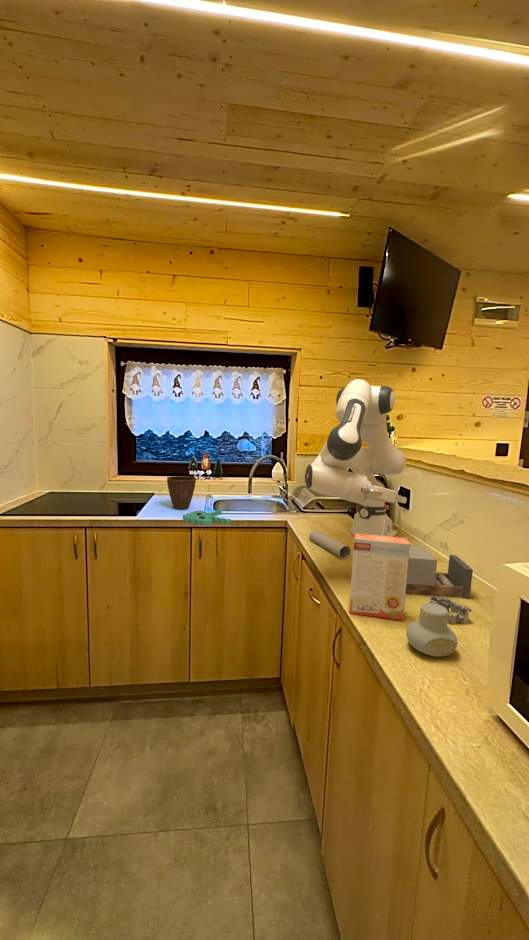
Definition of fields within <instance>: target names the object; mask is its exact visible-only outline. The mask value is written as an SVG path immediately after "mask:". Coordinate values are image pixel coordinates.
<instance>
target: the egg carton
mask: <svg viewBox="0 0 529 940" xmlns="http://www.w3.org/2000/svg"><path fill="white" fill-rule="evenodd" d="M427 597H428V599H429V602H428V603H434V604H438V605H441V606H443V607H445V608H446V609H447V610H448V621H447V624H448V623H449V624H451V625H456V622H457V623H461V624H466V625H467V623H468V621H469V613H471V612H472V609H471V608H470V607H468V606H466V605H462V604H459V603H458V602H456V601H454V600H451V598H450V597H446V598H444V597H445V596H431V595H427ZM451 612H452V613H451ZM454 614H455V615H454Z"/></svg>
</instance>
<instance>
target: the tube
mask: <svg viewBox="0 0 529 940" xmlns="http://www.w3.org/2000/svg"><path fill="white" fill-rule="evenodd" d="M308 538H309V540H310V541H311V542H313V544H317V546H318V545H319V547H321V548H323V549H324V550H326V551H328V552H329V553H330V554H333V555H335V556H336V557H338V558H340V559H341V560H346V559H349V557H351V556H352V548H351V547H350V545H348V544H347V545H346V544H344V543H343V542H341V541H339V540H337V539H335V538H333V537H331V536H330V535H327V534H326V533H324V532H321V531H320V530H318V529H312V530H311V531H310V532H309V535H308Z"/></svg>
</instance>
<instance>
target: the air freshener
mask: <svg viewBox="0 0 529 940" xmlns="http://www.w3.org/2000/svg"><path fill="white" fill-rule="evenodd" d="M419 610H420V611H419V616H418V617H419V619H417V620H415V621H413V622H411V623H410V624H408V626H407V627H406V632H405V634H406V638H407V641H408V642H409V644H410V645H411V646H412V647H413V648H414V649H416V650H417V651H419V652H420V653H422V654H425V655H427V656H430V657H434V658H438V657H445V656H448V655H450V654H453V652H455V650H456V649H457V647H458V638H457V635H456V633H455V632H454V630H452V629H451V628H450V626H448V622H447V621H448V610H447V609H446V608H445V607H443V606H441V605H438V604H434V603H429V602H425V603H423V604H421V605H420V609H419Z"/></svg>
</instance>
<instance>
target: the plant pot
mask: <svg viewBox="0 0 529 940" xmlns="http://www.w3.org/2000/svg"><path fill="white" fill-rule="evenodd" d="M166 481H167V489H168V494H169V498H170V500H171V504H172V506H173V509H174V510H177V511H178V510H179V511H183V510H184V511H185V510H187V509H189V508H190V505H191V503H192V499H193V497H194V496H193V495H194V493H195V486H196V483H197V478H196V477H194V476H189V475H187V476H185V475H179V476H178V475H175V476H167V477H166Z"/></svg>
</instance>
